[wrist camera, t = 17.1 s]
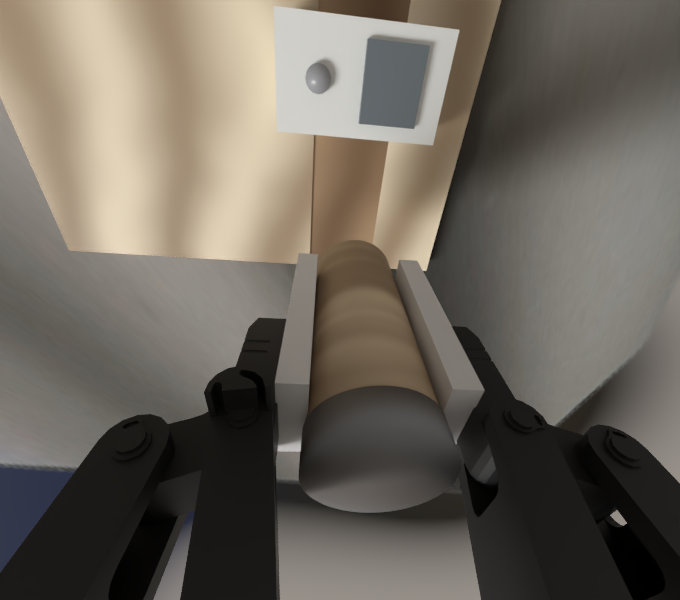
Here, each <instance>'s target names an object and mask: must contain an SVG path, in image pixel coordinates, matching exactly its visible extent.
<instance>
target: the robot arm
mask: <svg viewBox="0 0 680 600" xmlns="http://www.w3.org/2000/svg"><path fill="white" fill-rule="evenodd" d="M317 260H318V254H306V253H299V254H298V259H297V265H296V270H295V276H294V281H293V286H292V292H291V297H290V303H289V308H288V313H287V319H273V318H258V319H257V320H256V321H255V322H254V323H253V324H252V325H251V326H250V327H249V329H248V332H247V335H246V338H245V342H244V344H243V347H242V351H241V353H240V356H239V359H238V362H237V365H236V367H232V368H228V369H226V370H224V371H222V372H220V373H218V374H217V375H216V376H215V377H214V378H213V379H212V380H211V381H210V382H209V383H208V385H207V387H206V389H205V392H204V394H205V398H206V402H207V406H208V410H209V411H208V412H207V413H205V414H203V415H200V416H197V417H194V418H191V419H187V420H183V421H179V422H175V423H171V424H167V423H166V422H165V421H164V420H163V419H162V418H161V417H158V416H155V415H151V414H148V415H137V416H134V417H131V418H128V419H125V420H123V421H121V422H120V423H118V424H117V425H115V426H113V427H112V428H110V429H109V430H108V431H107V432H106V433H105V434H104V435H103V436H102V437H101V438H100V439H99V440H98V442H97V443H96V444H95V446H94V447H93V448H92V450H91V451H90V452H89V454H88V455H87V457H86V458H85V459H84V461H83V462H82V463H81V465H80V466H79V467H78V469H77V470H76V471H75V473H74V474H73V475H72V477H71V478H70V479H69V481H68V482H67V484H66V485H65V486H64V488H63V489H62V490H61V492H60V493H59V494H58V496H57V497H56V498H55V500H54V501H53V502H52V504H51V505H50V506H49V508H48V509H47V511H46V512H45V513H44V515H43V516H42V517H41V519H40V520H39V521H38V523H37V524H36V526H35V527H34V528H33V530H32V531H31V532H30V533H29V535H28V536H27V538H26V539H25V540H24V542H23V543H22V544H21V546H20V547H19V548H18V550H17V551H16V552H15V554H14V555H13V556H12V558H11V559H10V561H9V562H8V563H7V565H6V566H5V567H4V569H3V570H2V571H1V573H0V600H153V598H154V596H155V593H156V591H157V588H158V586H159V583H160V581H161V578H162V576H163V573H164V571H165V568H166V566H167V563H168V561H169V558H170V556H171V553H172V551H173V548H174V546H175V543H176V541H177V538H178V536H179V533H180V531H181V528H182V526H183V523H184V521H185V518H186V516H187V513H188V512H191V511H194V510H195V513H194V519H193V525H192V532H191V538H190V544H189V550H188V556H187V562H186V568H185V574H184V580H183V586H182V592H181V598H180V600H280V594H279V556H278V525H277V524H278V523H277V522H278V521H277V488H276V487H277V486H276V455H277V448H278V451H293V452H301V439H302V429H303V425H304V422H305V419H306V416H307V413H308V403H309V387H310V372H311V356H312V341H313V325H314V310H315V295H316V279H317ZM395 283H396V286H397V289H398V291H399V294H400V297H401V300H402V303H403V305H404V308H405V311H406V314H407V317H408V319H409V322H410V325H411V328H412V331H413V333H414V336H415V339H416V342H417V345H418V348H419V350H420V353H421V356H422V359H423V362H424V364H425V367H426V370H427V373H428V376H429V378H430V381H431V384H432V387H433V390H434V392H435V395H436V398H437V401H438V404H439V406H440V407H441V409H442V410H443V412H444V414H445V417H446V419H447V422H448V425H449V428H450V430H451V433H452V436H453V439H454V441H455V444H457V443H458V446H459V449H460V451H461V454H462V459H461V464H462V467H461V472H460V474H459V476H458V478H457V479H456V481H455V482H454V483H453V484H452V485H451V487H455V485H456V484H457V482H458V480H459V479H460V484H461V485H460V489H461V490H462V495H463V501H464V506H465V512H466V517H467V523H468V528H469V534H470V539H471V545H472V551H473V556H474V562H475V567H476V573H477V578H478V584H479V589H480V595H481V600H680V483H679V482H678V481H677V480H676V479H675V478H674V477H673V476H672V475H671V474H670V473H669V472H668V471H667V470H666V469H665V468H664V467H663V466H662V465H661V463H660V462H659V461H658V460H657V459H656V458H655V457H654V456H653V455H652V454H651V453H650V452H649V451H648V450H647V449H646V448H645V447H644V446H643V445H641V444H640V443H639V442H638V441H637V440H636V439H634V438H632V437H631V436H629V435H627V434H626V433H624V432H623V431H620V430H618V429H615V428H613V427H610V426H605V425H596V426H593V427H590V428H589V430H588V431H587V432H586V433H585V434H584V435H581V434H578V433H574V432H571V431H568V430H564V429H561V428H558V427H555V426H552V425H549V424H547V422H546V421H545V419H544V418H543V416H542V415H541V414H539V413H538V412H537V411H536V410H535V409H534V408H533V407H531V406H529V405H527V404H525V403H524V402H522V401H519V400H516V399H515V398H514V396H513V394H512V393H511V391H510V389H509V388H508V386H507V384H506V383H505V381H504V379H503V378H502V376H501V374H500V373H499V371H498V369H497V368H496V366H495V364H494V363H493V361H491V358H490V356H489V355H488V353H487V352H486V351H485V348H484V346H483V345H482V343H481V341H480V340H479V338H478V337H477V336H476V335H475V334H474V333H472V332H471V331H470V330H469V329H468V328H467V327H456V326H451V324H450V322H449V321H448V319H447V317H446V315H445V313H444V311H443V309H442V307H441V305H440V303H439V301H438V299H437V297H436V296H435V294H434V292H433V290H432V288H431V286H430V284H429V282H428V280H427V278H426V276H425V274H424V273H423V271H422V269H421V267H420V265H419V263H418V261H414V260H399V263H398V267H397V272H396V277H395ZM616 510H618V511H619V512H620V514H621V515H622V517H623V518H624V519H625V521H626V522H627V524H626V525H624V526H622V525H620V524H618V523H617V522H616V521H614V519H613V518H612V517H611V516H610V515H611V514H612V513H613V512H615V511H616Z"/></svg>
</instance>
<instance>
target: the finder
mask: <svg viewBox="0 0 680 600" xmlns="http://www.w3.org/2000/svg"><path fill="white" fill-rule="evenodd" d="M458 35H459V30H458V29H450V28H442V27H435V26H427V25H419V24H411V23H404V22H396V21H388V20H380V19H373V18H365V17H357V16H349V15H342V14H334V13H326V12H318V11H311V10H303V9H295V8H287V7H280V6H274V43H275V81H276V120H277V132H288V133H299V134H310V135H321V136H333V137H344V138H355V139H366V140H377V141H388V142H399V143H410V144H421V145H433V143H434V138H435V134H436V130H437V125H438V121H439V117H440V113H441V108H442V104H443V100H444V95H445V91H446V87H447V82H448V78H449V74H450V69H451V65H452V61H453V56H454V52H455V48H456V43H457V39H458Z"/></svg>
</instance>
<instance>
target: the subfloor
mask: <svg viewBox="0 0 680 600" xmlns="http://www.w3.org/2000/svg"><path fill="white" fill-rule="evenodd" d="M500 4H501V0H0V97H1V99H2V101H3V104H4V106H5V108H6V110H7V113H8V115H9V117H10V119H11V122H12V124H13V126H14V128H15V131H16V133H17V135H18V137H19V139H20V142H21V144H22V146H23V148H24V151H25V153H26V155H27V157H28V160H29V162H30V164H31V166H32V169H33V171H34V173H35V175H36V177H37V180H38V182H39V184H40V186H41V189H42V191H43V193H44V195H45V198H46V200H47V202H48V204H49V206H50V209H51V211H52V213H53V215H54V218H55V220H56V222H57V224H58V227H59V229H60V231H61V233H62V236H63V238H64V240H65V242H66V244H67V247H68V249H69V250H70V251H87V252H103V253H120V254H137V255H154V256H171V257H188V258H205V259H222V260H238V261H255V262H272V263H289V264H297V259H298V254H299V253H306V254H318V260H317V263H318V261H319V259H320V257H321V256H322V255H323V253H324V252H325V251H326V250H327V249H328V248H330V247H331V246H333V245H335V244H337V243H339V242H342V241H346V240H362V241H366V242H369V243H371V244H373V245H375V246H376V247H378V248H379V249H380V250H381V251H382V252H383V253H384V255H385V256H386V258H387V261H388V263H389V266H390V269H397V267H398V263H399V260H414V261H418V263H419V265H420V267H421V269H422V271H426V270H427V266H428V263H429V259H430V256H431V252H432V248H433V245H434V241H435V238H436V234H437V230H438V227H439V223H440V220H441V216H442V212H443V209H444V205H445V202H446V198H447V194H448V191H449V187H450V184H451V180H452V176H453V173H454V169H455V166H456V162H457V158H458V155H459V151H460V148H461V144H462V140H463V137H464V133H465V130H466V126H467V122H468V119H469V115H470V112H471V108H472V104H473V101H474V97H475V94H476V90H477V86H478V83H479V79H480V76H481V72H482V68H483V65H484V61H485V58H486V54H487V50H488V47H489V43H490V40H491V36H492V32H493V29H494V25H495V22H496V18H497V14H498V11H499V7H500ZM274 6H280V7H287V8H295V9H303V10H311V11H318V12H326V13H334V14H342V15H349V16H357V17H365V18H373V19H380V20H388V21H396V22H404V23H411V24H419V25H427V26H435V27H442V28H450V29H458V30H459V35H458V39H457V43H456V48H455V52H454V56H453V61H452V65H451V69H450V74H449V78H448V82H447V87H446V91H445V95H444V100H443V104H442V108H441V113H440V117H439V121H438V125H437V130H436V134H435V138H434V143H433V145H421V144H410V143H399V142H388V141H377V140H366V139H355V138H344V137H333V136H321V135H310V134H299V133H288V132H277V120H276V81H275V43H274Z"/></svg>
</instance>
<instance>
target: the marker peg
mask: <svg viewBox="0 0 680 600" xmlns="http://www.w3.org/2000/svg"><path fill="white" fill-rule="evenodd" d="M461 467H462V464H461V458H460V455H459V452H458V450H457V447H456V444H455V441H454V439H453V436H452V433H451V430H450V428H449V425H448V422H447V419H446V417H445V414H444V412H443V410H442V409H441V407H440V406H439V404H438V401H437V398H436V395H435V392H434V390H433V387H432V384H431V381H430V378H429V376H428V373H427V370H426V367H425V364H424V362H423V359H422V356H421V353H420V350H419V348H418V345H417V342H416V339H415V336H414V333H413V331H412V328H411V325H410V322H409V319H408V317H407V314H406V311H405V308H404V305H403V303H402V300H401V297H400V294H399V291H398V289H397V286H396V283H395V280H394V277H393V275H392V272H391V269H390V266H389V263H388V261H387V258H386V256H385V255H384V253H383V252H382V251H381V250H380V249H379V248H378V247H376V246H375V245H373V244H371V243H369V242H366V241H362V240H346V241H342V242H339V243H337V244H335V245H333V246H331V247H330V248H328V249H327V250H326V251H325V252H324V253H323V255H322V256H321V257H320V259H319V261H318V263H317V279H316V295H315V310H314V325H313V341H312V356H311V372H310V387H309V403H308V413H307V416H306V419H305V422H304V425H303V429H302V439H301V452H300V465H299V482H300V484H301V486H302V488H303V490H304V491H305V492H306V493H307V494H308V495H309V496H310V497H311V498H313V499H314V500H316V501H318V502H320V503H322V504H324V505H326V506H329V507H332V508H336V509H340V510H345V511H351V512H367V513H371V512H388V511H394V510H400V509H405V508H409V507H412V506H415V505H418V504H421V503H424V502H426V501H429V500H431V499H432V498H435V497H437V496H438V495H440V494H442V493H443V492H445V491H446V490H447V489H448V488H449V487H451V485H452V484H453V483H454V482H455V481H456V479H457V478H458V476H459V474H460V472H461Z"/></svg>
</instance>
